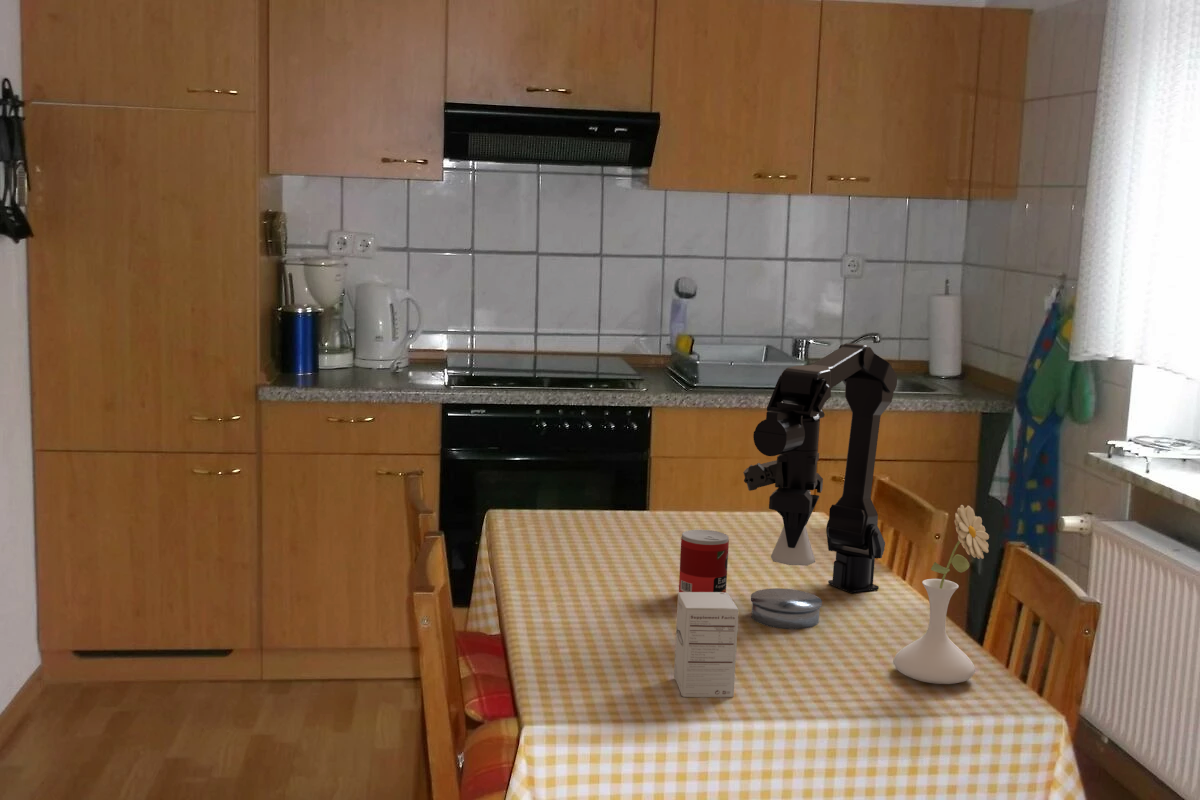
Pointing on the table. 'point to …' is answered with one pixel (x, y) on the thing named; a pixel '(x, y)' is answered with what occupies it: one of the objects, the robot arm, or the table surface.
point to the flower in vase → (944, 614)
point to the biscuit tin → (785, 608)
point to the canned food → (703, 561)
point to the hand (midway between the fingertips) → (793, 543)
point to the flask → (793, 550)
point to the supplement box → (706, 644)
